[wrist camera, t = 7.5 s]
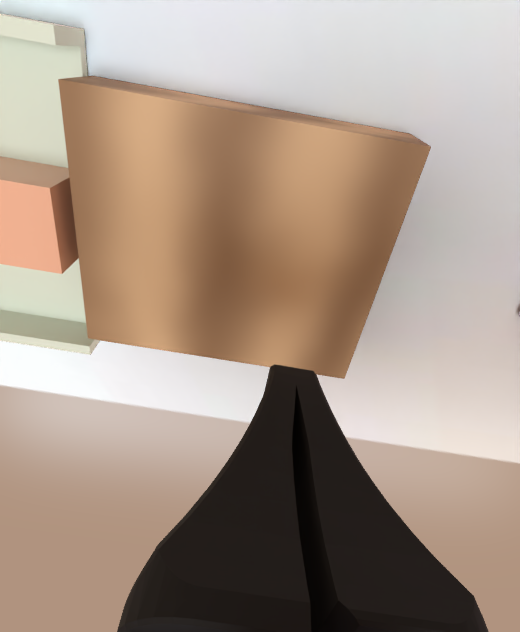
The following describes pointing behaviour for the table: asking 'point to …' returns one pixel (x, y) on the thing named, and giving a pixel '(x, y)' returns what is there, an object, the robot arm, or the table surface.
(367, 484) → the robot arm
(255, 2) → the table surface
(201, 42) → the table surface
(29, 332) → the tray
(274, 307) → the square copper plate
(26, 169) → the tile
